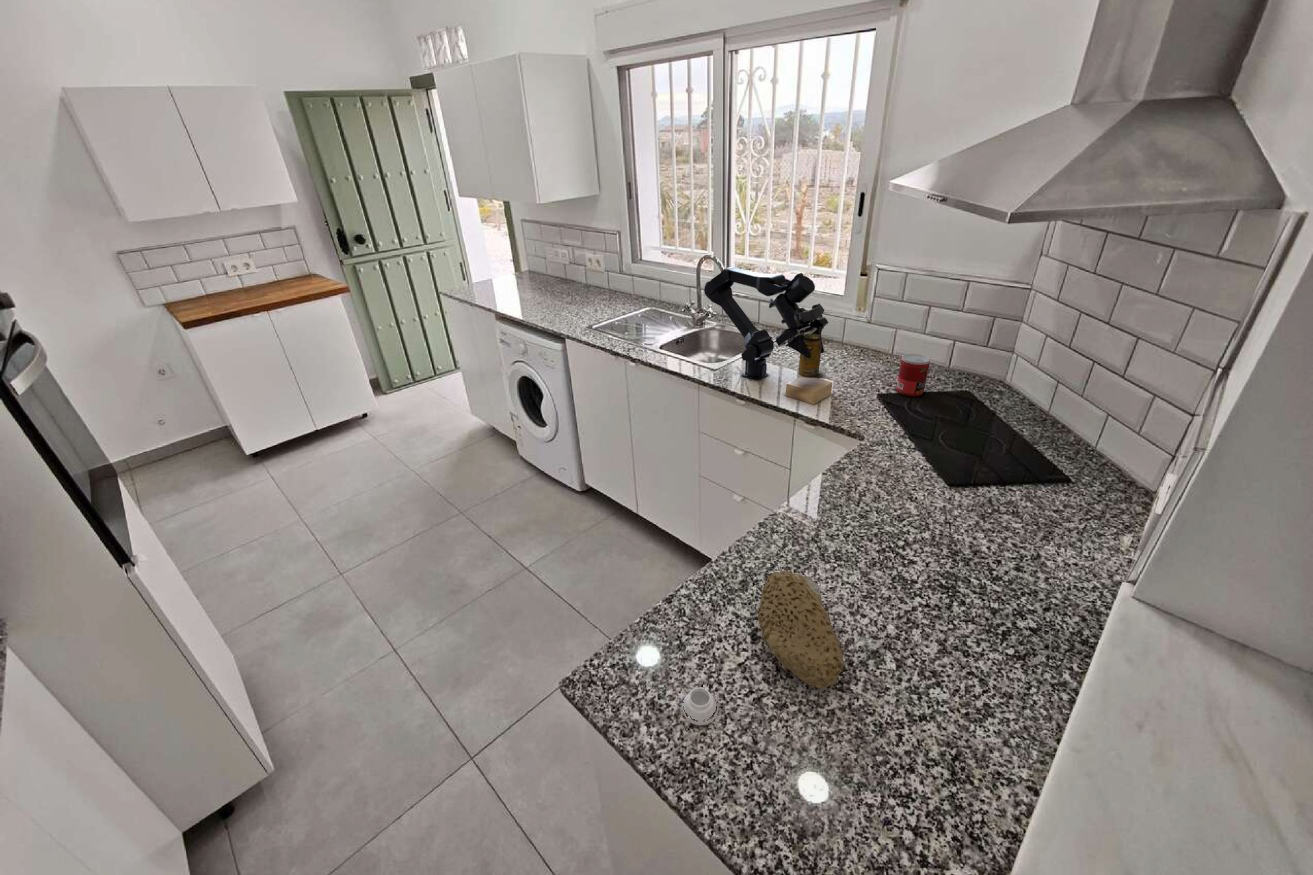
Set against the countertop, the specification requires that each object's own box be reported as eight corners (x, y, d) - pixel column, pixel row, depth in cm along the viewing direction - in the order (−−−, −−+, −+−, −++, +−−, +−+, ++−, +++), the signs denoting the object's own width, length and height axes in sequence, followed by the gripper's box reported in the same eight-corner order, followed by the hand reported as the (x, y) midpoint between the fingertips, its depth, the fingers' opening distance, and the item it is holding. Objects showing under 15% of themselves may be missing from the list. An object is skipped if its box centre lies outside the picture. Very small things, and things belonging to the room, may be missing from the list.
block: (785, 395, 168) (786, 383, 166) (803, 385, 174) (804, 374, 172) (813, 404, 162) (815, 392, 160) (831, 394, 168) (832, 382, 166)
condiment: (797, 369, 169) (800, 332, 163) (825, 370, 167) (830, 333, 161) (796, 377, 163) (800, 339, 157) (825, 379, 161) (830, 341, 155)
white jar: (724, 716, 75) (705, 688, 79) (725, 702, 74) (705, 675, 78) (694, 733, 73) (675, 704, 77) (694, 719, 72) (675, 690, 76)
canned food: (919, 398, 162) (927, 364, 157) (892, 393, 166) (898, 359, 161) (926, 390, 167) (933, 356, 162) (899, 384, 172) (905, 351, 166)
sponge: (757, 596, 96) (745, 673, 78) (769, 559, 94) (759, 629, 75) (831, 620, 94) (837, 705, 75) (845, 583, 91) (855, 661, 73)
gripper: (787, 302, 151) (815, 349, 149) (826, 290, 161) (854, 334, 159) (763, 323, 160) (790, 368, 158) (802, 311, 170) (828, 352, 168)
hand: (816, 355), depth 161 cm, fingers closed on condiment, 6 cm apart
